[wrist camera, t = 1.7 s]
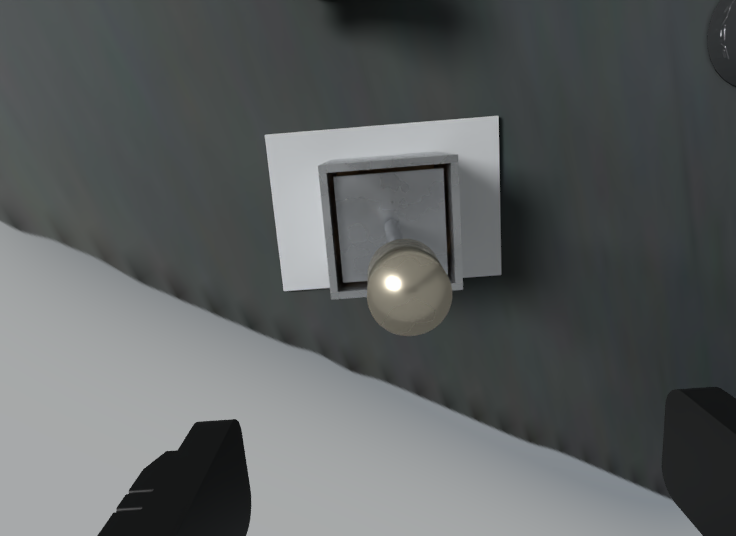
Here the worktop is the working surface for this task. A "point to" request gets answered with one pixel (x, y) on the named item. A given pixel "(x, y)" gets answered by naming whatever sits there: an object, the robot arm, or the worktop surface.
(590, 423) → the worktop surface
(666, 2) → the worktop surface
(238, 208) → the worktop surface
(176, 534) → the robot arm
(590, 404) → the worktop surface
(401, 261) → the plunger
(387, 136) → the tray
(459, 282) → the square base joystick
